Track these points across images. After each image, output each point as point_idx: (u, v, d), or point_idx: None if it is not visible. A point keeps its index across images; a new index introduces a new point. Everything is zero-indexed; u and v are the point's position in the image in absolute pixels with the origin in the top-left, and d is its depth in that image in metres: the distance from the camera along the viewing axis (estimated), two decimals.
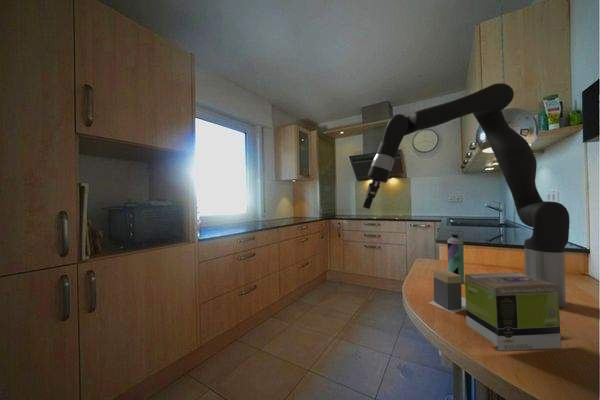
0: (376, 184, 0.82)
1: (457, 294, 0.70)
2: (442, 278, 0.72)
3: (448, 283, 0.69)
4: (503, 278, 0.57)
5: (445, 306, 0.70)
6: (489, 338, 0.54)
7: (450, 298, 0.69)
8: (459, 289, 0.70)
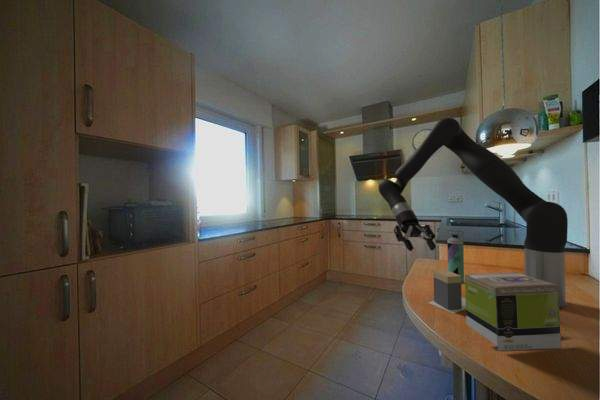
0: (395, 229, 0.89)
1: (457, 294, 0.70)
2: (442, 278, 0.72)
3: (448, 283, 0.69)
4: (503, 278, 0.57)
5: (445, 306, 0.70)
6: (489, 338, 0.54)
7: (450, 298, 0.69)
8: (459, 289, 0.70)
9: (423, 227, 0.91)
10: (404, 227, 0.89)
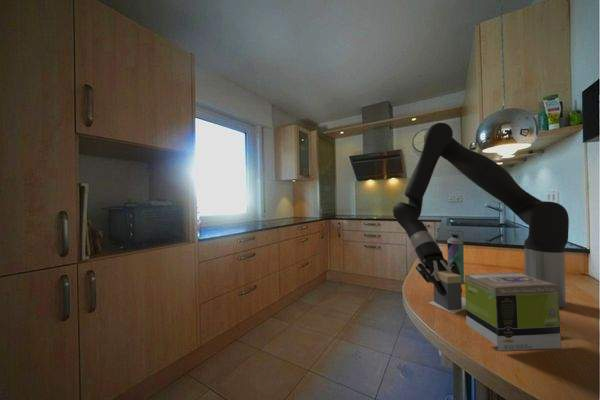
0: (419, 268, 0.76)
1: (457, 294, 0.70)
2: (442, 278, 0.72)
3: (448, 283, 0.69)
4: (503, 278, 0.57)
5: (445, 306, 0.70)
6: (489, 338, 0.54)
7: (450, 298, 0.69)
8: (459, 289, 0.70)
9: (450, 265, 0.77)
10: (427, 262, 0.77)
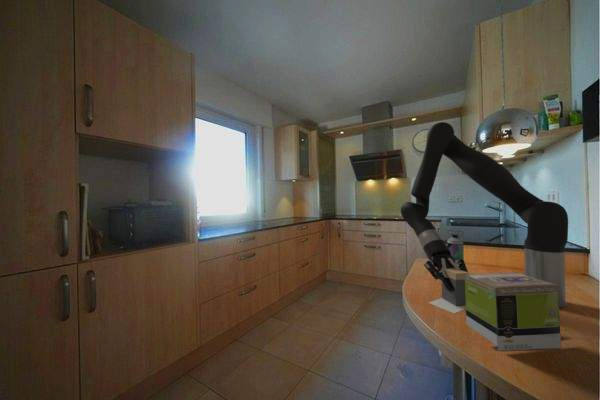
0: (427, 265, 0.78)
1: None
2: (450, 275, 0.74)
3: (456, 280, 0.72)
4: (503, 278, 0.57)
5: (453, 302, 0.73)
6: (489, 338, 0.54)
7: (458, 294, 0.72)
8: None
9: (458, 262, 0.80)
10: (435, 260, 0.79)
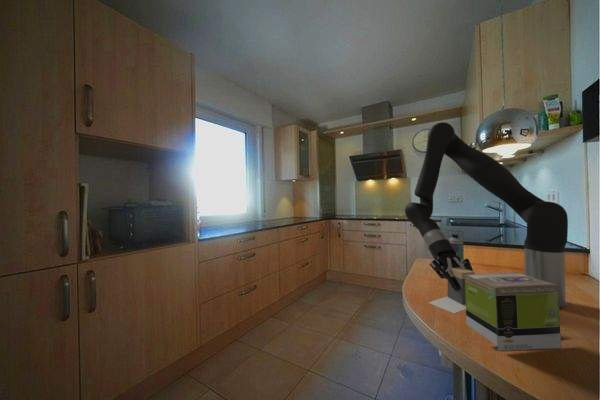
0: (433, 265, 0.79)
1: None
2: (456, 274, 0.75)
3: (462, 279, 0.73)
4: (503, 278, 0.57)
5: (459, 301, 0.74)
6: (489, 338, 0.54)
7: None
8: None
9: (463, 262, 0.81)
10: (441, 259, 0.80)
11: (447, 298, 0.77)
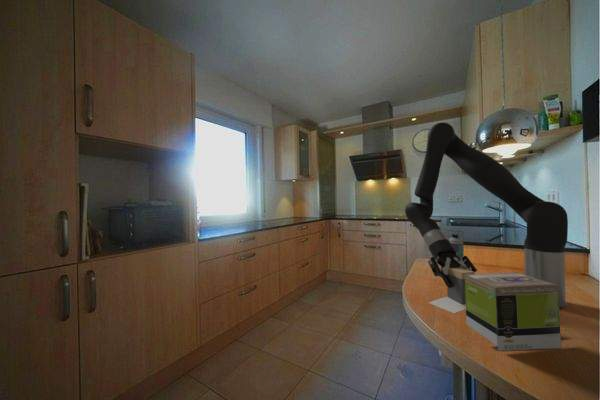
0: (430, 261, 0.80)
1: None
2: (455, 274, 0.75)
3: (462, 279, 0.73)
4: (503, 278, 0.57)
5: (459, 301, 0.74)
6: (489, 338, 0.54)
7: (464, 293, 0.73)
8: None
9: (461, 258, 0.82)
10: (441, 259, 0.80)
11: (447, 298, 0.77)
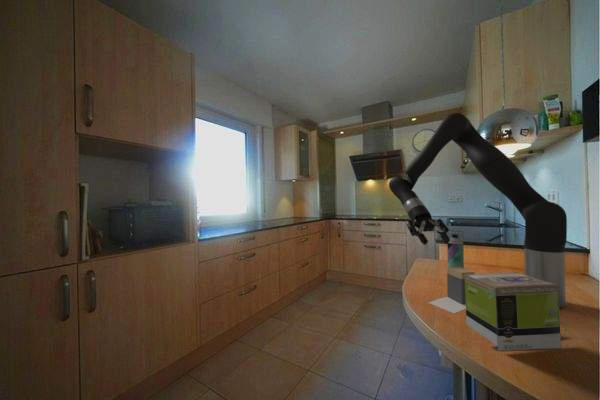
0: (408, 224, 0.91)
1: None
2: (455, 274, 0.75)
3: (462, 279, 0.73)
4: (503, 278, 0.57)
5: (459, 301, 0.74)
6: (489, 338, 0.54)
7: (464, 293, 0.73)
8: None
9: (436, 221, 0.92)
10: (417, 222, 0.91)
11: (447, 298, 0.77)
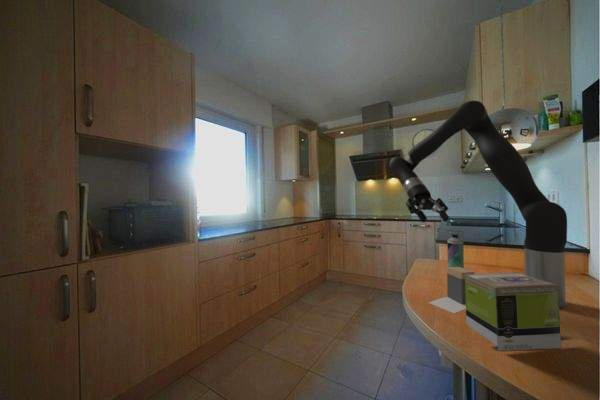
0: (407, 202, 0.90)
1: None
2: (455, 274, 0.75)
3: (462, 279, 0.73)
4: (503, 278, 0.57)
5: (459, 301, 0.74)
6: (489, 338, 0.54)
7: (464, 293, 0.73)
8: None
9: (435, 200, 0.91)
10: (416, 200, 0.90)
11: (447, 298, 0.77)
